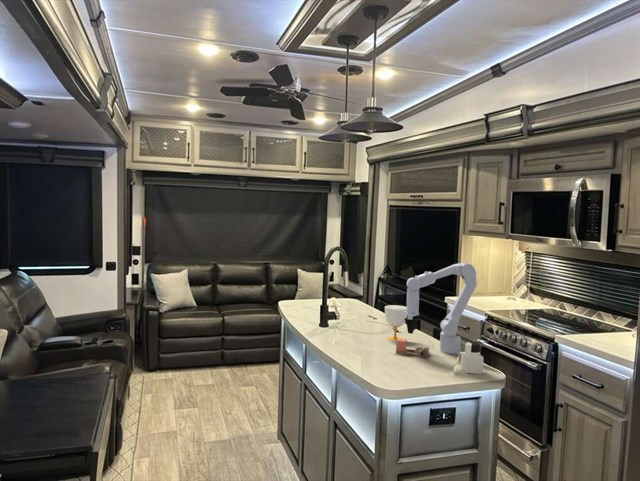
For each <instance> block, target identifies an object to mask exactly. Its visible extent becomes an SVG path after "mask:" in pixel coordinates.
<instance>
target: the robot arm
mask: <svg viewBox="0 0 640 481" xmlns="http://www.w3.org/2000/svg"><path fill="white" fill-rule="evenodd" d="M451 275H456V276H460V277H461V279H462V281H463V287H461V289H460V292H459V294H458V296H457V298H456V300H455V302H454V304H453V305H452V308H451V310H450V311H449V313H448V314H447V315H446V316H445V318H443V320H441V322H440V324H439V326H440V329H441V331H440V338H439V351H440V353H444V354H451V355H452V354H453V355H456V357H457V358H458V357H460V356H461V350H462V348H461V342H462V341H461V336H459V335H457V333H458V327H459V324H460V319H461V316H462V315H463V312H464V311H465V309H466V306H467V305H468V303H469V300H470V299H471V297H472V295H473V293H474V291H475V290H476V288H477V283H478V282H477V271H476V269H475V267H474V266H473V264H470V263H467V262H465V261H464V262H463V261H461V262H459V263H454V264H451V265H450V266H447V267H444V268H441V269H439V270H437V271H435V272H433V271H424V273H422V274H419V275H414V277H410V278H408V279H407V281H406V287H407V289H406V306H405V307H406V311H404V313H405V314H407V318H404V320H405V324H406V328H407V334H412V335H413V333H414V331H415V330H416V328H417V324H418V320H419V318H420V316H421V314H420V312H419V309H420V308H419V307H420V289H421V288H424V287H427V286H429V285H432V284H435V283H436V280H437V279H438V280H439V279H441V278H445V277H448V276H451Z"/></svg>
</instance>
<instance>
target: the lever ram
mask: <svg viewBox="0 0 640 481" xmlns="http://www.w3.org/2000/svg"><path fill="white" fill-rule="evenodd" d="M395 342H396V343H395V344H396V348H395V353H399V352H406V349H407V344H408V343H407V339H404V338H402V339H397V341H396V340H395Z"/></svg>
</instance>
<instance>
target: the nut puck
mask: <svg viewBox="0 0 640 481" xmlns="http://www.w3.org/2000/svg"><path fill="white" fill-rule="evenodd" d="M423 349H424V347H423V346H415V348H414V350H415V354H422V355H423Z"/></svg>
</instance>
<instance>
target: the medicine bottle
mask: <svg viewBox="0 0 640 481" xmlns="http://www.w3.org/2000/svg"><path fill="white" fill-rule="evenodd" d="M460 358H461V359H460V369H461V370H462V371H463V372H464V373H465V374H467V373H471V374H472V373H473V374H474V375H475V374H476V375H478V374H479V375H483V374H484V356H483V355H481V344H480V343H478V342H475V341H467V342H465V344H464V351H462V352H460ZM471 374H470V375H471ZM473 374H472V375H473Z"/></svg>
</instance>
